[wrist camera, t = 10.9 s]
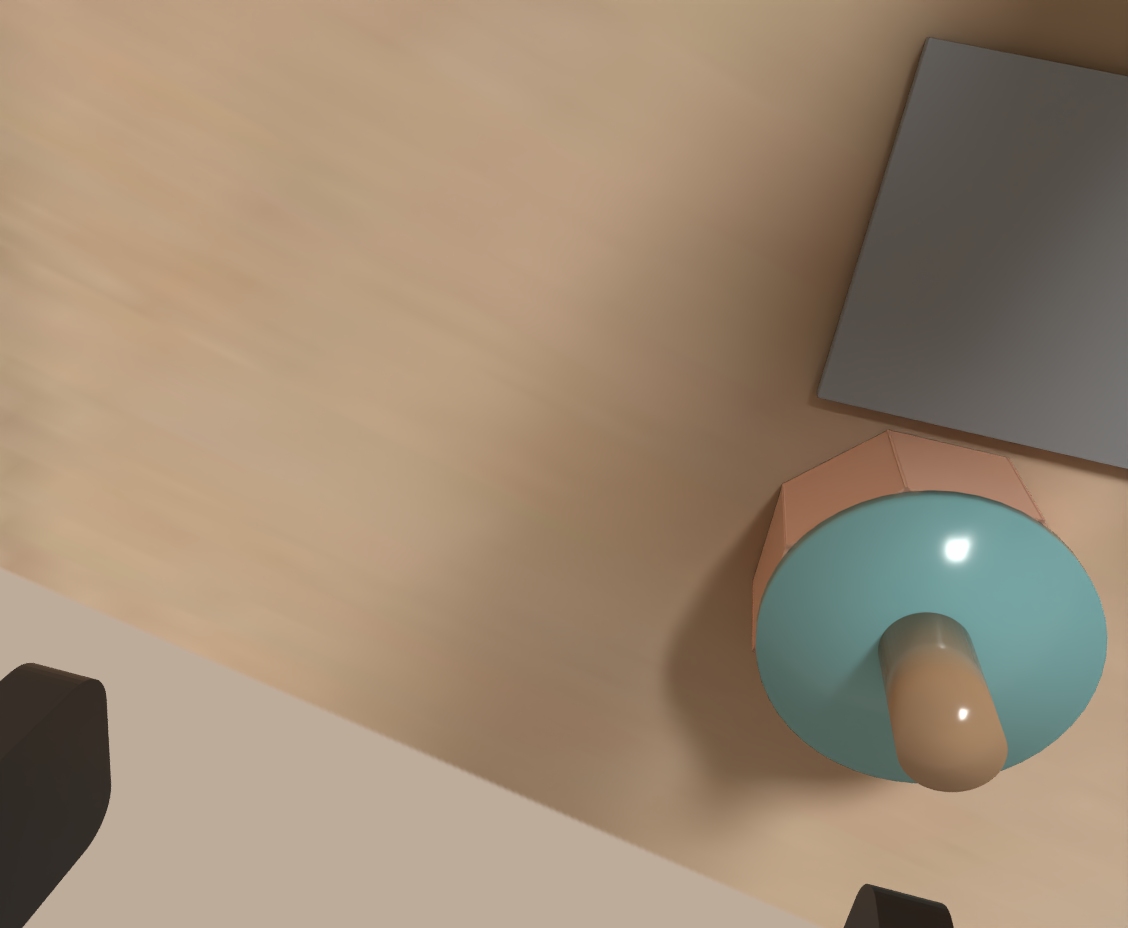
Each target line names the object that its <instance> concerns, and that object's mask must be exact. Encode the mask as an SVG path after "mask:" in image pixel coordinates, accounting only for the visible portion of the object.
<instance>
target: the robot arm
mask: <svg viewBox="0 0 1128 928" xmlns="http://www.w3.org/2000/svg"><path fill="white" fill-rule="evenodd" d="M110 793H111V776H110V756H109V737H108V719H107V699H106V691H105V688H104V686H103V685H102V683H101V682H100V681H99V680H96V679H92V678H89V677H85V676H80V675H77V674H73V673H69V672H66V671H62V670H58V669H54V668H50V667H46V666H43V665H39V664H35V663H26V664H23V665H21V666H19V667H17V668H16V669H14V670H13V671H12V672H10V673H9V674H8V675H7V676H6V677H4V678H3V679H2V680H1V681H0V928H22V927H23V926H24V925H25V923H26V922H27V921H28V920H29V919H30V917H31V916H32V915H33V914H34V913H35V911H36V910H37V909H38V908H39V907H40V905H41V904H42V903H43V902H44V901H45V899H46V898H47V897H48V896H49V894H50V893H51V892H52V891H53V890H54V888H55V887H56V886H57V885H58V883H59V882H60V881H61V880H62V879H63V877H64V876H65V875H66V874H67V872H68V871H69V870H70V869H71V868H72V866H73V865H74V864H75V863H76V861H77V860H78V859H79V858H80V857H81V855H82V854H83V853H84V852H85V850H86V849H87V848H88V846H89V845H90V844H91V842H92V841H93V839H94V837H95V836H96V834H97V832H98V830H99V828H100V826H101V824H102V821H103V819H104V816H105V814H106V811H107V807H108V804H109V799H110ZM844 928H954V927H953V923H952V919H951V915H950V913H949V910H948V909H947V907H946V906H945V905H944V904H943V903H939V902H935V901H931V900H927V899H924V898H920V897H916V896H912V895H908V894H904V893H901V892H897V891H893V890H889V889H885V888H882V887H878V886H874V885H870V884H865V885H863V886H862V887H861V889H860V890H859V892H858V894H857V896H856V899H855V901H854V904H853V906H852V908H851V911H850V913H849V916H848V918H847V921H846V923H845V926H844Z"/></svg>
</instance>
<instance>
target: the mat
mask: <svg viewBox="0 0 1128 928" xmlns="http://www.w3.org/2000/svg"><path fill="white" fill-rule="evenodd" d="M817 396H818V398H822V399H827V400H831V401H835V402H840V403H844V404H848V405H853V406H857V407H861V408H866V409H870V410H874V411H879V412H883V413H887V414H892V415H896V416H900V417H905V418H909V419H913V420H918V421H922V422H926V423H931V424H935V425H939V426H944V427H948V428H952V429H957V430H961V431H965V432H970V433H974V434H978V435H983V436H987V437H991V438H996V439H1000V440H1004V441H1009V442H1013V443H1017V444H1022V445H1026V446H1030V447H1035V448H1039V449H1043V450H1048V451H1052V452H1056V453H1061V454H1065V455H1069V456H1074V457H1078V458H1082V459H1087V460H1091V461H1095V462H1100V463H1104V464H1108V465H1113V466H1117V467H1121V468H1126V469H1128V76H1124V75H1119V74H1114V73H1109V72H1104V71H1098V70H1093V69H1088V68H1083V67H1078V66H1073V65H1068V64H1063V63H1058V62H1052V61H1047V60H1042V59H1037V58H1032V57H1027V56H1022V55H1017V54H1012V53H1007V52H1001V51H996V50H991V49H986V48H981V47H976V46H971V45H966V44H961V43H955V42H950V41H945V40H940V39H935V38H930V37H927V38H926V41H925V44H924V48H923V51H922V54H921V57H920V61H919V64H918V67H917V70H916V73H915V77H914V80H913V83H912V86H911V90H910V93H909V96H908V99H907V103H906V106H905V109H904V112H903V115H902V119H901V122H900V125H899V128H898V132H897V135H896V138H895V141H894V145H893V148H892V151H891V154H890V157H889V161H888V164H887V167H886V170H885V174H884V177H883V180H882V183H881V187H880V190H879V193H878V196H877V199H876V203H875V206H874V209H873V212H872V216H871V219H870V222H869V225H868V229H867V232H866V235H865V238H864V241H863V245H862V248H861V251H860V254H859V258H858V261H857V264H856V267H855V271H854V274H853V277H852V280H851V283H850V287H849V290H848V293H847V296H846V300H845V303H844V306H843V309H842V313H841V316H840V319H839V322H838V325H837V329H836V332H835V335H834V338H833V342H832V345H831V348H830V351H829V355H828V358H827V361H826V364H825V367H824V371H823V374H822V377H821V380H820V384H819V387H818V390H817Z"/></svg>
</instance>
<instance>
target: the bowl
mask: <svg viewBox="0 0 1128 928" xmlns="http://www.w3.org/2000/svg"><path fill="white" fill-rule="evenodd" d="M925 490H936V491H955V492H961V493H967V494H973V495H978V496H982V497H985V498H989V499H992V500H995V501H999V502H1002V503H1004V504H1006V505H1009V506H1011V507H1013V508H1016V509H1018V510H1020V511H1022V512H1024V513H1026V514H1027V515H1029V516H1031V517H1032V518H1034V519H1036V520H1037V521H1039V522H1041V523H1042V524H1043V525H1044V526H1046V527H1047V525H1046V523H1045V519H1044V517H1043V516H1042V514H1041V512H1040V511H1039V509H1038V507H1037V505H1036V504H1035V502H1034V500H1033V498H1032V497H1031V495H1030V493H1029V492H1028V490H1027V488H1026V486H1025V485H1024V483H1023V481H1022V479H1021V478H1020V476H1019V474H1018V473H1017V471H1016V469H1015V467H1014V466H1013V464H1012V462H1011V461H1010V459H1009V458H1008V457H1002V456H998V455H994V454H989V453H985V452H981V451H976V450H972V449H968V448H963V447H959V446H955V445H951V444H946V443H942V442H938V441H933V440H929V439H925V438H920V437H916V436H912V435H907V434H903V433H899V432H895V431H890V430H887V431H885V432H883V433H881V434H880V435H878V436H876V437H874V438H872V439H870V440H868V441H866V442H864V443H862V444H860V445H858V446H856V447H854V448H852V449H850V450H848V451H846V452H844V453H842V454H840V455H838V456H837V457H835V458H833V459H831V460H829V461H827V462H825V463H823V464H821V465H819V466H817V467H815V468H813V469H811V470H809V471H807V472H805V473H803V474H801V475H799V476H797V477H795V478H794V479H792V480H790V481H788V482H786V483H783V484H782V488H781V492H780V495H779V498H778V501H777V505H776V508H775V511H774V514H773V518H772V521H771V524H770V527H769V531H768V534H767V537H766V540H765V544H764V547H763V550H762V554H761V557H760V560H759V563H758V567H757V570H756V573H755V576H754V578H753V614H752V651H753V652H754V653H755V654H756V625H757V614H758V610H759V605H760V601H761V597H762V595H763V592H764V590H765V587H766V585H767V582H768V580H769V578H770V577H771V575H772V573H773V571H774V570H775V568H776V566H777V565H778V563H779V562H780V561H781V559H782V558H783V557H784V556H785V554H786V553H787V552H788V550H789V549H790V548H791V547H792V546H793V545H794V544H795V543H796V542H797V541H798V540H799V539H800V538H801V537H802V536H803V535H805V534H806V533H807V532H809V531H810V530H811V529H813V528H814V527H815V526H817V525H818V524H819V523H821V522H822V521H824V520H826V519H827V518H829V517H831V516H833V515H834V514H836V513H838V512H840V511H842V510H844V509H846V508H849V507H851V506H854V505H856V504H858V503H861V502H864V501H867V500H871V499H874V498H877V497H881V496H885V495H890V494H896V493H902V492H909V491H925ZM1047 528H1048V527H1047ZM1048 529H1049V528H1048ZM756 656H757V654H756Z"/></svg>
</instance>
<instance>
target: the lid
mask: <svg viewBox="0 0 1128 928" xmlns="http://www.w3.org/2000/svg"><path fill="white" fill-rule="evenodd" d="M1106 651H1107V629H1106V620H1105V615H1104V612H1103V608H1102V605H1101V601H1100V598H1099V596H1098V594H1097V592H1096V590H1095V588H1094V585H1093V583H1092V581H1091V579H1090V578H1089V576H1088V574H1087V573H1086V571H1085V569H1084V568H1083V566H1082V565H1081V563H1080V562H1079V561H1078V559H1077V558H1076V556H1075V555H1074V553H1073V552H1072V551H1071V550H1070V549H1069V547H1068V546H1067V545H1066V544H1065V543H1064V542H1063V541H1062V540H1061V539H1060V538H1059V537H1058V536H1057V535H1056V534H1055V533H1053V532H1052V531H1051V530H1050V529H1048V528H1047V527H1046V526H1044V525H1043V524H1042V523H1041V522H1039V521H1037V520H1036V519H1034V518H1032V517H1031V516H1029V515H1027V514H1026V513H1024V512H1022V511H1020V510H1018V509H1016V508H1013V507H1011V506H1009V505H1006V504H1004V503H1002V502H999V501H995V500H992V499H989V498H985V497H982V496H978V495H973V494H967V493H961V492H955V491H936V490H925V491H909V492H902V493H896V494H890V495H885V496H881V497H877V498H874V499H871V500H867V501H864V502H861V503H858V504H856V505H854V506H851V507H849V508H846V509H844V510H842V511H840V512H838V513H836V514H834V515H833V516H831V517H829V518H827V519H826V520H824V521H822V522H821V523H819V524H818V525H817V526H815V527H814V528H813V529H811V530H810V531H809V532H807V533H806V534H805V535H803V536H802V537H801V538H800V539H799V540H798V541H797V542H796V543H795V544H794V545H793V546H792V547H791V548H790V549H789V550H788V552H787V553H786V554H785V556H784V557H783V558H782V559H781V561H780V562H779V563H778V565H777V566H776V568H775V570H774V571H773V573H772V575H771V577H770V578H769V580H768V582H767V585H766V587H765V590H764V592H763V595H762V597H761V601H760V605H759V610H758V614H757V625H756V654H757V665H758V669H759V672H760V676H761V680H762V683H763V686H764V688H765V690H766V693H767V695H768V697H769V699H770V701H771V703H772V704H773V706H774V708H775V709H776V711H777V713H778V714H779V715H780V717H781V718H782V719H783V720H784V721H785V723H786V724H787V725H788V726H789V728H790V729H791V730H792V731H793V732H794V733H796V734H797V735H798V736H799V737H800V738H801V739H802V740H803V741H804V742H805V743H807V744H808V745H809V746H811V747H812V748H814V749H815V750H816V751H818V752H819V753H821V754H822V755H824V756H826V757H828V758H829V759H831V760H833V761H835V762H836V763H839V764H841V765H843V766H845V767H848V768H850V769H852V770H855V771H858V772H861V773H864V774H867V775H870V776H874V777H878V778H883V779H888V780H892V781H899V782H909V783H919V784H920V785H922V786H925V787H927V788H930V789H933V790H937V791H943V792H961V791H967V790H971V789H974V788H977V787H979V786H982V785H984V784H985V783H987V782H989V781H990V780H991V779H993V778H994V777H995V776H996V775H997V774H998V773H999V772H1000V771H1002V770H1005V769H1007V768H1009V767H1012V766H1014V765H1016V764H1019V763H1021V762H1023V761H1025V760H1026V759H1028V758H1030V757H1032V756H1033V755H1035V754H1037V753H1039V752H1040V751H1042V750H1043V749H1045V748H1046V747H1047V746H1049V745H1050V744H1051V743H1053V742H1054V741H1055V740H1057V739H1058V738H1059V737H1060V736H1061V735H1062V734H1063V733H1064V732H1065V731H1066V730H1067V729H1068V728H1069V727H1071V726H1072V724H1073V723H1074V722H1075V721H1076V719H1077V718H1078V717H1079V716H1080V715H1081V713H1082V712H1083V711H1084V710H1085V708H1086V706H1087V705H1088V703H1089V701H1090V699H1091V698H1092V696H1093V694H1094V693H1095V690H1096V688H1097V685H1098V683H1099V681H1100V678H1101V676H1102V672H1103V668H1104V663H1105V659H1106Z"/></svg>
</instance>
